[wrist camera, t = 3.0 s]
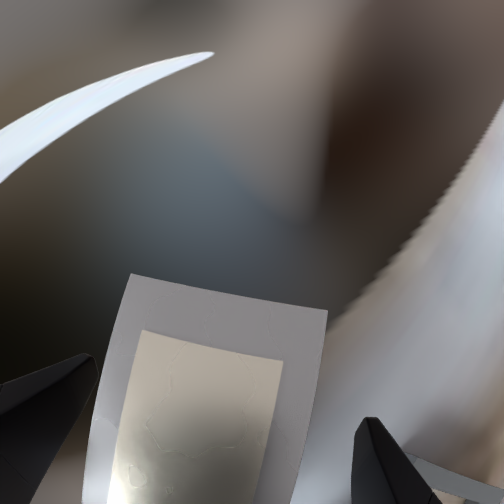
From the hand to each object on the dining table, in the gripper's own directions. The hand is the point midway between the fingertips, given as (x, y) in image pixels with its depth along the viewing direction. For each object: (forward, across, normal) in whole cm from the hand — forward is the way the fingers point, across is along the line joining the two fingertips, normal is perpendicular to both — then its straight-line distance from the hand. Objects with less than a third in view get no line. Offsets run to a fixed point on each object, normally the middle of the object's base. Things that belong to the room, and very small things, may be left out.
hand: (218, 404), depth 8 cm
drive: (+4, 0, +6) cm, 7 cm away
